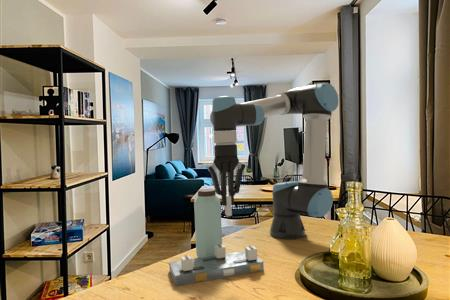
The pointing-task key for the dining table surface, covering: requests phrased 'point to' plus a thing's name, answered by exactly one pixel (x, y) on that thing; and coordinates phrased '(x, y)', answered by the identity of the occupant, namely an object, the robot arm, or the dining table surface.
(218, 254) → the switch
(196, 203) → the water bottle
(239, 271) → the console
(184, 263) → the switch
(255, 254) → the switch
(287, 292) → the dining table surface
